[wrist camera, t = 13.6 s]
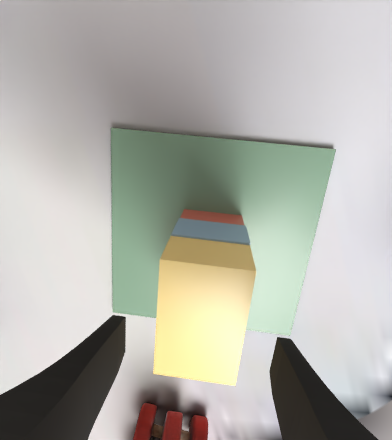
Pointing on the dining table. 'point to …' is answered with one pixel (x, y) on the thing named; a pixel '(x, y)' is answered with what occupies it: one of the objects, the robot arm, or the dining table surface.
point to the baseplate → (219, 203)
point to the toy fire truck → (169, 426)
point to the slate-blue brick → (211, 231)
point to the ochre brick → (202, 309)
